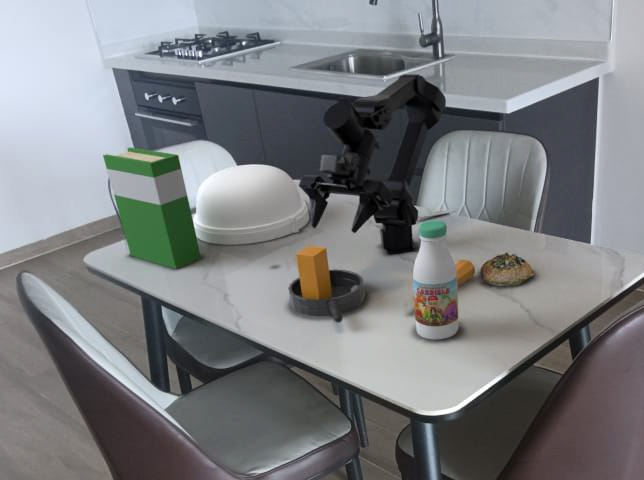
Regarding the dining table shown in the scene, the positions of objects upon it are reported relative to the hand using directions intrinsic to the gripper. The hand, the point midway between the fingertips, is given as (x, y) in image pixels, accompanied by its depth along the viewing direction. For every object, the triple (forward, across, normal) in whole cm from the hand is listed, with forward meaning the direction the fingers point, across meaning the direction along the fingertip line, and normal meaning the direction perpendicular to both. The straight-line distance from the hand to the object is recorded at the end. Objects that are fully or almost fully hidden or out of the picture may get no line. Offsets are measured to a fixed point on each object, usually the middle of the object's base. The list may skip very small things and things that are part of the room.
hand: (332, 229), depth 144 cm
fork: (-21, -4, +40) cm, 46 cm away
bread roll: (-3, +29, +22) cm, 37 cm away
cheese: (+15, 0, +3) cm, 15 cm away
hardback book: (+7, -52, +12) cm, 53 cm away
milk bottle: (+16, +26, +3) cm, 31 cm away
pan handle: (+17, +7, -1) cm, 19 cm away
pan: (+13, 0, +6) cm, 14 cm away
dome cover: (-12, -45, +30) cm, 56 cm away
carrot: (+5, +20, +14) cm, 25 cm away
